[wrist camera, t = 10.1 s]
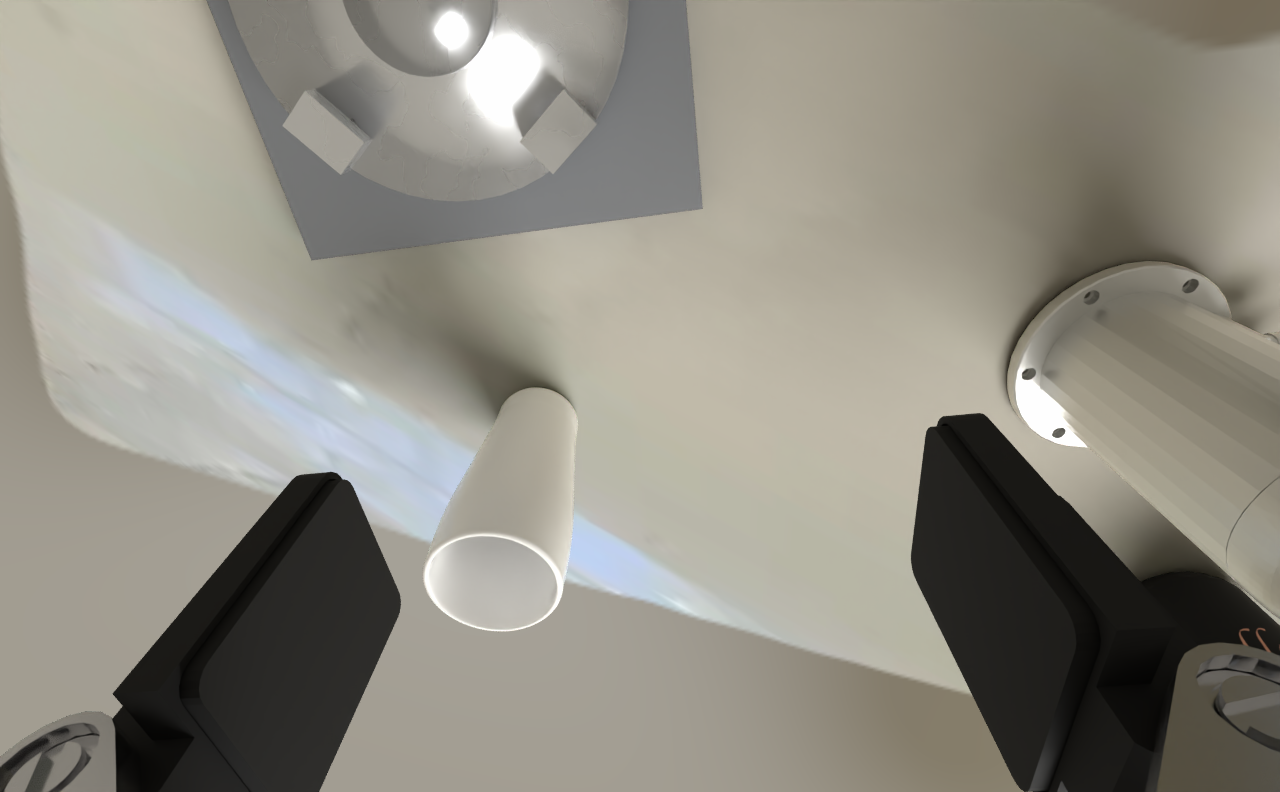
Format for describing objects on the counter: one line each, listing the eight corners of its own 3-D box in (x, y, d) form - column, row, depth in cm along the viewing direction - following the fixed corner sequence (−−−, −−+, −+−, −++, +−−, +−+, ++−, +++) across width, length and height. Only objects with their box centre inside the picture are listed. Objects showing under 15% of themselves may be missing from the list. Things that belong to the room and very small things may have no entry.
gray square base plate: (652, -374, 24) (653, -410, 22) (699, 200, 35) (702, 209, 33) (127, -268, 26) (85, -293, 24) (327, 249, 36) (310, 261, 35)
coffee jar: (1259, 567, 48) (1552, 816, 33) (1194, 657, 54) (1420, 909, 38) (1124, 563, 48) (1353, 811, 33) (1072, 653, 54) (1248, 904, 38)
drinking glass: (596, 454, 44) (574, 629, 31) (501, 462, 44) (440, 638, 31) (581, 369, 40) (550, 525, 27) (479, 378, 41) (401, 536, 28)
